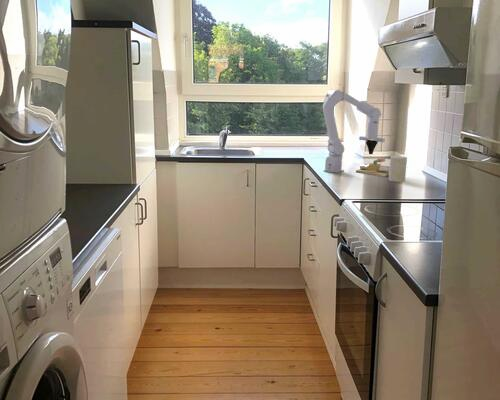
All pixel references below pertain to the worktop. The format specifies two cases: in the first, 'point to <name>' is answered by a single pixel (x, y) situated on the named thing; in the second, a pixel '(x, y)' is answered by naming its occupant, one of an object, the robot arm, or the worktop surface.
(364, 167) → the valve pipe
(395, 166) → the cup
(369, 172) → the mount board
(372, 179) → the worktop surface
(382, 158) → the valve lever
